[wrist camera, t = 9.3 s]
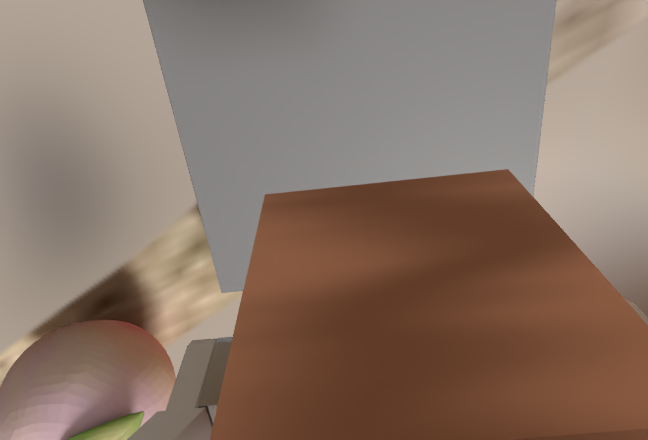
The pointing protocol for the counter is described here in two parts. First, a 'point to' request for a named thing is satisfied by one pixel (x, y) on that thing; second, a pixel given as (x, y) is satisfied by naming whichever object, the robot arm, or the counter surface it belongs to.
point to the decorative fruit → (86, 384)
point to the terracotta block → (428, 321)
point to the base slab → (345, 98)
